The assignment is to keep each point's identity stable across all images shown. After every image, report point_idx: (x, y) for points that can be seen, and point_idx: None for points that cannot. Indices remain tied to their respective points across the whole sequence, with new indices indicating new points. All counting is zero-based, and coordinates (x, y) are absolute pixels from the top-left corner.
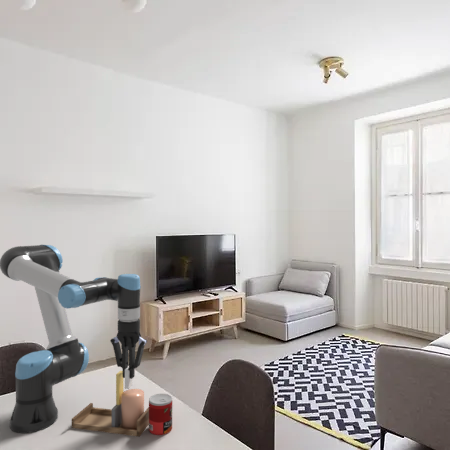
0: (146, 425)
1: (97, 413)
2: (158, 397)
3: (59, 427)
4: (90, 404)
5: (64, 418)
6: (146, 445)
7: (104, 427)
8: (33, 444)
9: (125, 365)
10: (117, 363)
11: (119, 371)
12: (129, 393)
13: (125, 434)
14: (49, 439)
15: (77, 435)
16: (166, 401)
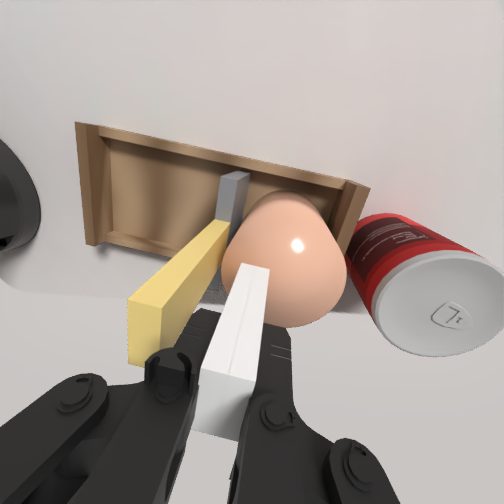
0: None
1: (133, 145)
2: (427, 285)
3: (71, 222)
4: (82, 136)
5: (48, 169)
6: (338, 312)
7: None
8: (67, 291)
9: (175, 475)
10: (50, 479)
11: (128, 317)
12: None
13: None
14: (86, 275)
15: (141, 261)
16: (469, 328)
